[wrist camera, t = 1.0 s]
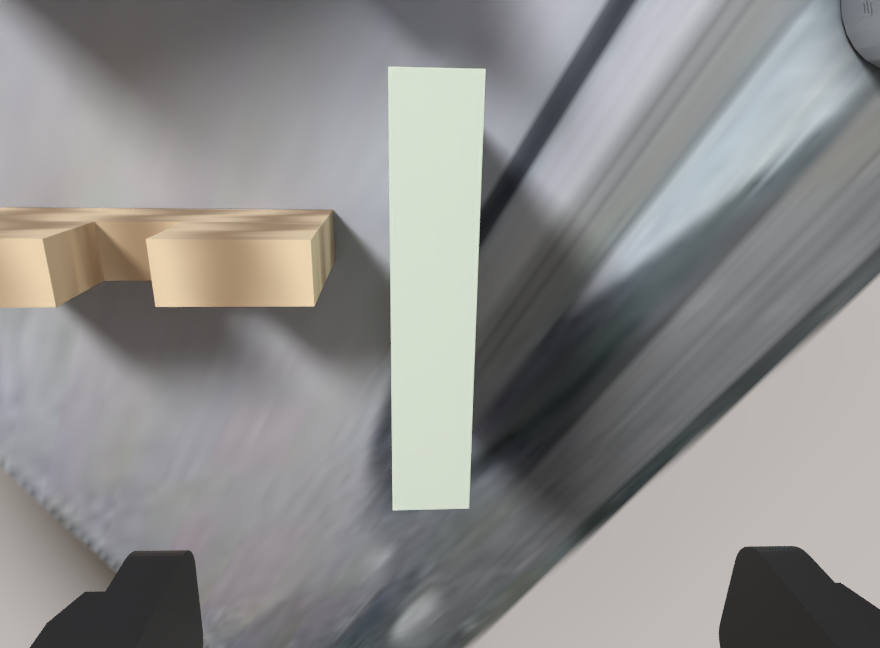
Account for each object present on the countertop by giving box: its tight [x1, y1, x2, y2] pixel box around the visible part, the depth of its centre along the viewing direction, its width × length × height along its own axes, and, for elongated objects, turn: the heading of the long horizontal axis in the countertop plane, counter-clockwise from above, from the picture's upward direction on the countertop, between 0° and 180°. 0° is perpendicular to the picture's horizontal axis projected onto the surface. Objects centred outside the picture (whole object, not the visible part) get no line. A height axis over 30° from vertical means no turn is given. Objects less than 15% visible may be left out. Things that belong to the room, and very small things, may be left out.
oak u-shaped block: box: [0, 207, 335, 307], centre depth 30 cm, size 18×3×9 cm, turn 89°
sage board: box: [388, 67, 486, 510], centre depth 28 cm, size 3×16×15 cm, turn 179°
